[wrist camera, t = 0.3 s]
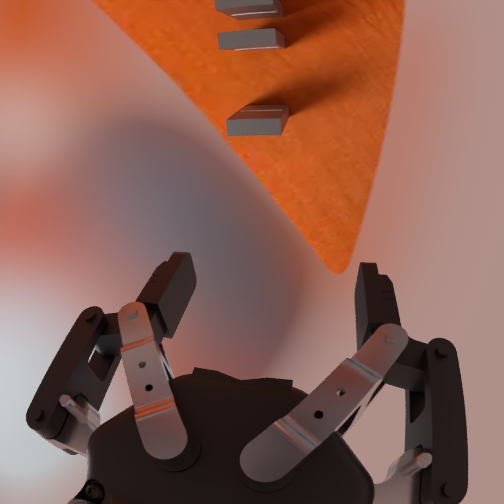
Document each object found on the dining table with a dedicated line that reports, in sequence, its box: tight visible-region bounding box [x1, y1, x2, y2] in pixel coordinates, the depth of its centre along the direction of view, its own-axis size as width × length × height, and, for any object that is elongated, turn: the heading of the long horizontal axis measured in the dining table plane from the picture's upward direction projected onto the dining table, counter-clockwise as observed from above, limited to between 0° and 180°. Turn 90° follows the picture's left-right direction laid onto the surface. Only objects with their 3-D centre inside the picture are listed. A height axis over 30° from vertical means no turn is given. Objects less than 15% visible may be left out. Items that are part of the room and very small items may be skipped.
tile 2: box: [218, 28, 286, 51], centre depth 25 cm, size 2×5×9 cm, turn 94°
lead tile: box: [226, 104, 289, 136], centre depth 30 cm, size 2×5×9 cm, turn 94°
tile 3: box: [215, 0, 284, 20], centre depth 22 cm, size 2×5×9 cm, turn 94°
